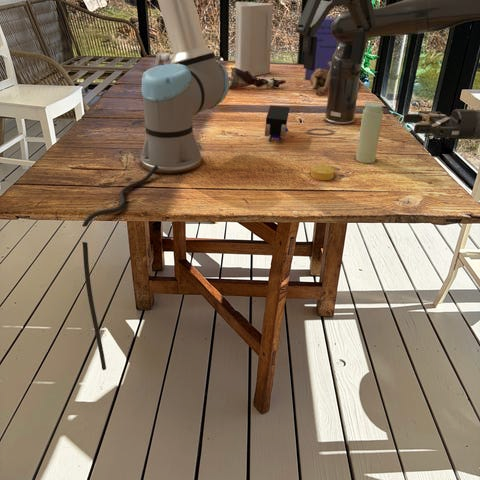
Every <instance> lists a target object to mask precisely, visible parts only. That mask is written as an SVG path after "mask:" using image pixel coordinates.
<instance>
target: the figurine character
mask: <svg viewBox="0 0 480 480" xmlns="http://www.w3.org/2000/svg"><path fill="white" fill-rule="evenodd" d="M289 113H290V107H289V106H282V105H281V106H280V105H269V109H268V111H267V115H266V118H265V129H264V137H269V138H268V142H269V143H272V139H275V140H276V139H278V143H281V142H282V139H283V138H285V137H286V134H287V133H288V132H289V129H288V126H287V125H288V119H289Z"/></svg>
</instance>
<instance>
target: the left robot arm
mask: <svg viewBox="0 0 480 480" xmlns="http://www.w3.org/2000/svg"><path fill="white" fill-rule="evenodd" d="M157 3H158V6H159V9H160V13H161V16H162V21H163V24H164V26H165V31H166V34H167V37H168V40H169V43H170V44H169V45H170V46H171V50H172V54H174V55H173V58H172V60H171V61H170V62H169V63H165V64H162V65H158V66H156V65H155V66H152V67H149V68H148V69H146V71H144V72H143V74H142V76H141V89H140V93H141V96H142V97H141V98H142V106H143V116H144V125H145V126H144V127H145V138H144V142H143V146H142V150H141V154H140V162H141V166H142V168H144V169H145V170H146V171H149V172H148V173H147V174H146V175H145V176H144V177H143V178H141V179H139V180H136V181H135V182H132V183H130V184H128V185H126V186H124V187H123V188H122V189H121V190H120V192H119V199H120V203H119V205H118V206H115V207H113V208H107V209H100V210H97V211H93V212H92V213H91V214H89V215H88V216H87V217H86V218H85V219H84V221H83V223H82V225H81V226H82V227H83V228H84V227H88V225H89V224H90V222H91V221H92V220H93V219H95V218H96V217H99V216H103V215H109V214H115V213H118V212H120V211H121V210H123V209H124V207H125V205H126V198H125V193H126V192H127V191H129V190H130V189H134V188H135V187H138V186H140V185H142V184H144V183H146V182H147V181H148V180H149V179H150V178H151V177H152V176H153V174H154V173H156V174H163V175H164V174H165V175H169V174H170V175H172V174H173V175H175V174H182V173H187V172H190V171H193V170H195V169H197V168H198V167H199V166H201V163H202V154H201V151H202V150H203V149H202V148H203V147H202V146H201V144H200V142H197V141H196V137H195V135H194V130H193V129H194V126H193V116H194V115H197V114H199V113H202V112H204V111H206V110H211V109H214V108H216V107H217V106H218V105H219V104H221V103H222V102H223V101H224V100H225V99H226V96H227V95H228V92H229V89H230V88H229V84H230V81H229V77H230V76H229V73H228V71H227V69H226V67H225V66H224V65H223V64H221V62H220V61H219V60H217V61H216V59H217V58H216V56H215V55H216V54H215V52H214V50H212V49H211V48H209V47H208V46H207V44H206V42H205V37H204V34H203V29H202V25H201V23H200V19H199V14H198V12H197V7H196V4H195V0H157ZM341 6H344V7H346V8H347V9H348V10H349V12H350V14H351V16H352V18H353V20H354V22H355V25H356V27H357V29H358V30H359V31H354V38H353V46H352V54H351V63H355V64H361V63H362V64H363V60H362V56H363V49H364V47H365V45H366V38H367V32H369V33H370V32H371V31H372V28H375V26H376V22H375V17H374V11H373V9H374V6H373V1H372V0H307V1H306V4H305V6H304V9H303V10H302V13H301V15H300V18H299V20H298V22H297V25H296V27H295V32H296V33H298V34H300V35H301V36H303V42H302V43H303V44H302V52H303V53H304V57H303V69H304V70H306V69H308V70H311V71H312V70H314V69H315V58H316V47H317V37H315V36H314V35H315V33H316V32H317V30H318V29H319V27H320V26H321V24H322V23H323V21H324V20H325V18H327V16H328V15H329V14H330V12H331V10H333V9H334V8H335V7H341ZM366 46H367V45H366ZM82 254H83V255H82V256H83V258H82V259H83V269H84V278H85V285H86V287H85V288H86V294H87V298H88V304H89V310H90V315H91V320H92V325H93V329H94V334H95V338H96V344H97V349H98V353H99V359H100V364H101V370H103V371H106V370H107V365H106V358H105V353H104V347H103V343H102V338H101V333H100V329H99V324H98V318H97V313H96V309H95V307H96V306H95V303H94V297H93V290H92V283H91V273H90V265H89V245H88V242H87V241H82Z"/></svg>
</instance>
